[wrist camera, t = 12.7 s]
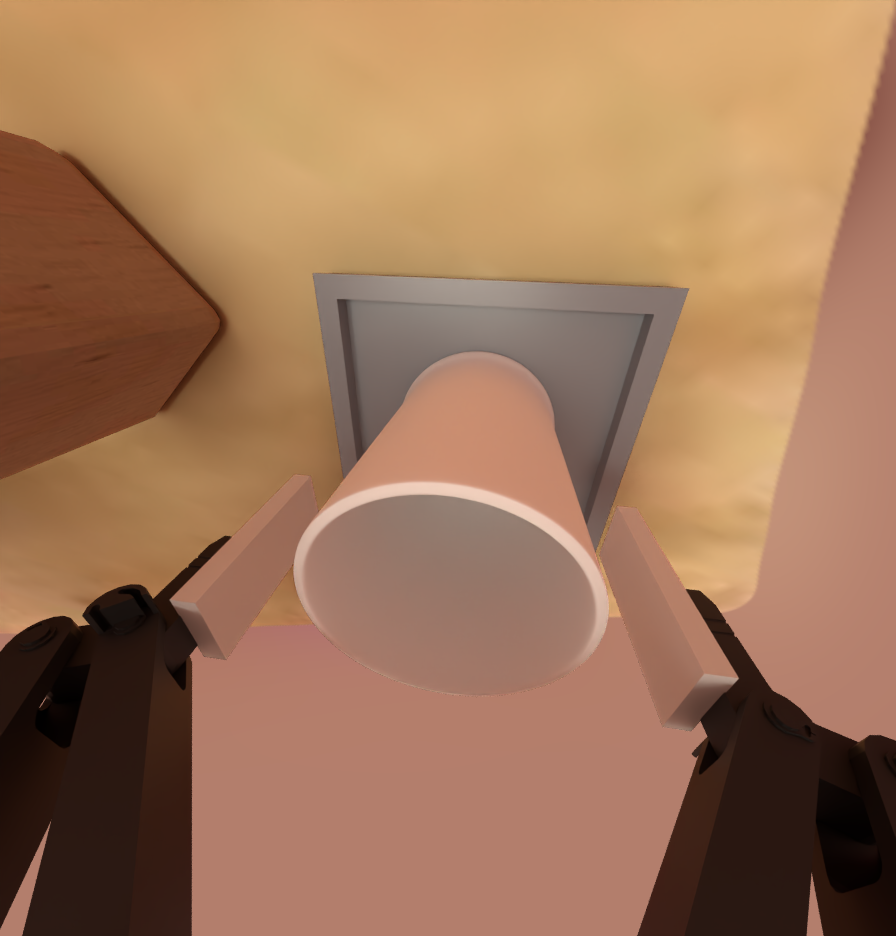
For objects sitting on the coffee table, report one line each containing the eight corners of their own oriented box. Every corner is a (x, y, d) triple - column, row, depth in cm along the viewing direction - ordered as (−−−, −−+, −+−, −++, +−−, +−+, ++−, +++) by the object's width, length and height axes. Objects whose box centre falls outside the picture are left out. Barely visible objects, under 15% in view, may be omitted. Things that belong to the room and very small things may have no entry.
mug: (557, 528, 21) (606, 761, 11) (430, 534, 23) (371, 739, 13) (551, 337, 16) (640, 451, 6) (384, 364, 18) (220, 488, 7)
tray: (364, 542, 26) (355, 559, 24) (330, 273, 17) (312, 272, 15) (577, 569, 24) (582, 589, 22) (669, 287, 15) (689, 288, 13)
